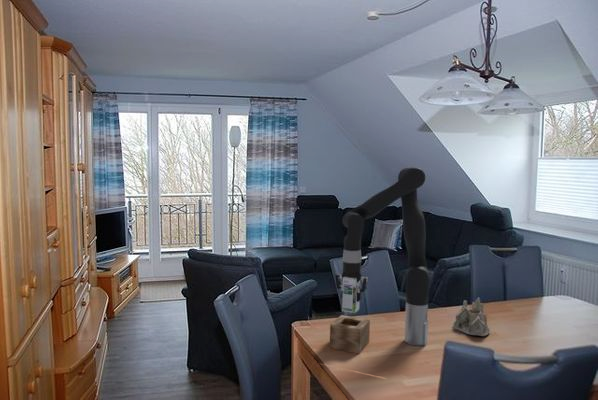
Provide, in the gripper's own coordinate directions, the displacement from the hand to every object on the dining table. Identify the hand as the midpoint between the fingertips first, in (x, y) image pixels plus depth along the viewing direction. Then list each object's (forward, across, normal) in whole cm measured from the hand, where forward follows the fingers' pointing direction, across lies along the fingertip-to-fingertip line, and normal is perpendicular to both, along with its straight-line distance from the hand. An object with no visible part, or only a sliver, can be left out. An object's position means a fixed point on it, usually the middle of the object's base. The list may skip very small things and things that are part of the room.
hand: (350, 299), depth 188 cm
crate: (+19, 0, 0) cm, 19 cm away
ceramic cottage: (+20, -44, -42) cm, 64 cm away
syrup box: (+5, 0, 0) cm, 5 cm away
